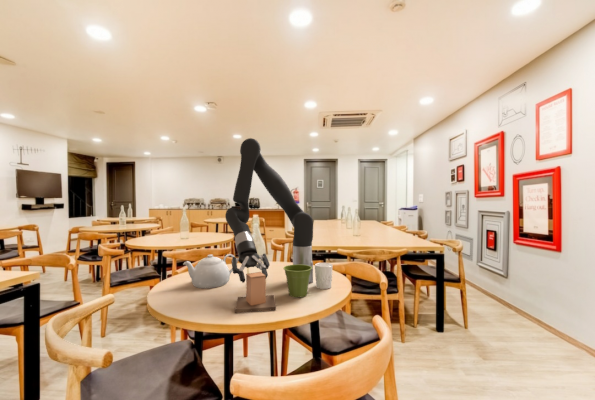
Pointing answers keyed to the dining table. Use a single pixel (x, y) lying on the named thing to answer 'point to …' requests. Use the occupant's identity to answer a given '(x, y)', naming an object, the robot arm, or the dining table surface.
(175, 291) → the dining table surface
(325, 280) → the white cup
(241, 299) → the plate
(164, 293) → the dining table surface
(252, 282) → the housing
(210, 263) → the teapot
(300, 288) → the plant pot
